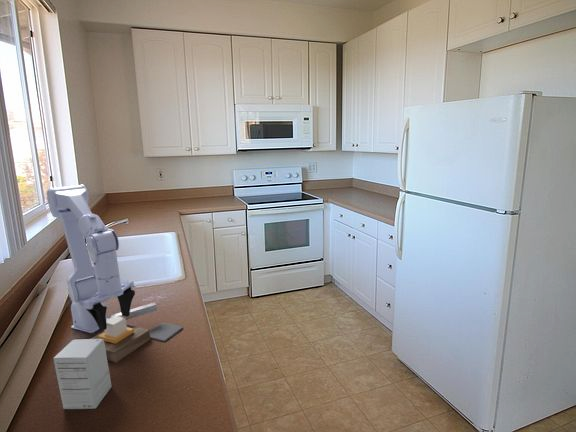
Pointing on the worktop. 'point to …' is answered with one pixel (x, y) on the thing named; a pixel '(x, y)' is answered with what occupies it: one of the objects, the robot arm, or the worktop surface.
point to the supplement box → (82, 373)
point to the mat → (164, 331)
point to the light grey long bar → (138, 311)
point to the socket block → (125, 344)
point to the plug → (116, 330)
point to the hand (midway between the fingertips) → (114, 322)
